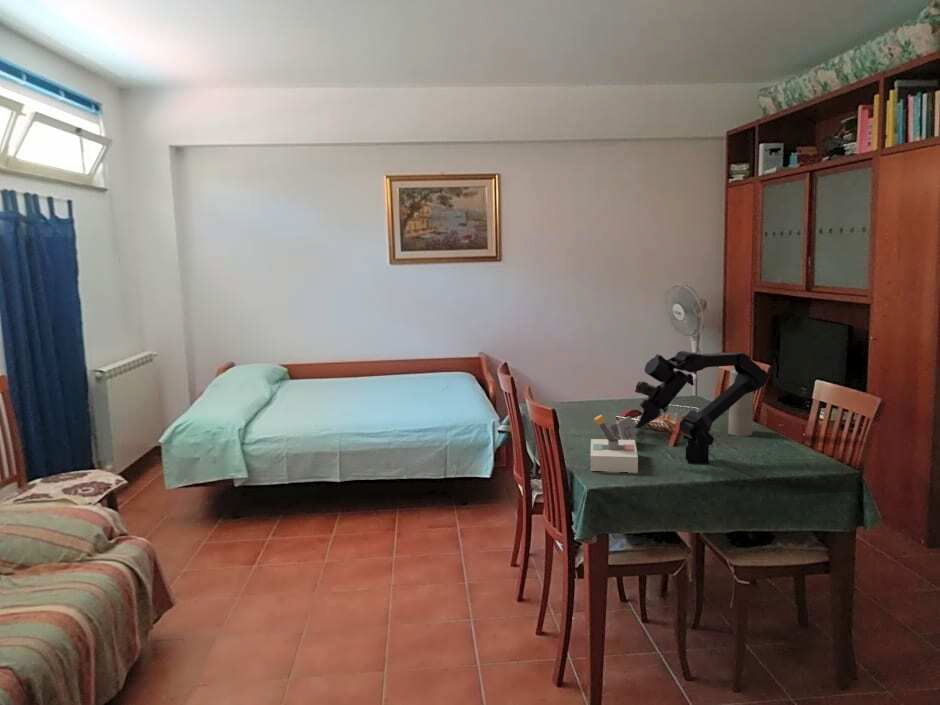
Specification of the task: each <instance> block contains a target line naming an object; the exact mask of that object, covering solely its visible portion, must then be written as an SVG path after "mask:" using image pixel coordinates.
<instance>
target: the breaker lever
mask: <svg viewBox="0 0 940 705" xmlns="http://www.w3.org/2000/svg"><path fill="white" fill-rule="evenodd" d="M594 422H595V424H596V425H597V426H599V427H600V429H601V430H602V432H603V434H604V436H605V437H606V438H607V439H608V441H609V442H617V441H616V439H614V436H613V433H612V431H611V430H610V429H609V427H608V425H607V423H606V420H605V417H604V416H603V414H599V415H597V416H596V417H594Z"/></svg>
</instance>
